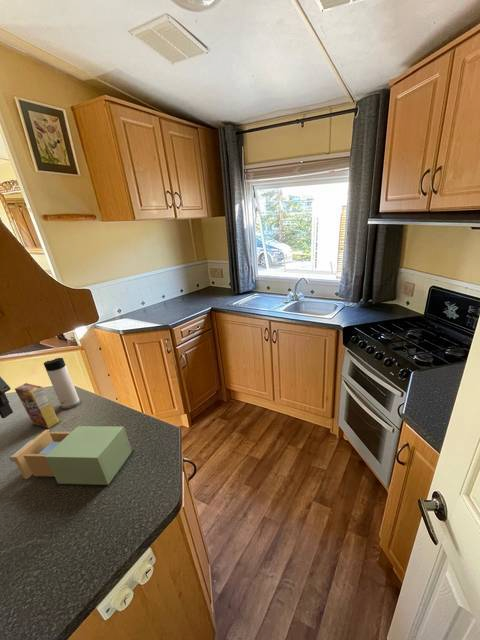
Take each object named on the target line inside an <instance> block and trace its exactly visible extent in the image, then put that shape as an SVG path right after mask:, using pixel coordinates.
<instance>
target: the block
mask: <svg viewBox="0 0 480 640" xmlns="http://www.w3.org/2000/svg"><path fill="white" fill-rule="evenodd" d="M59 443H60V442H51V443H50V444H49V445H48V446H47V447H45V448H44V449H43V450H42V451H41V452H40V453H39V454H48V453H49V452H50V451H51V450H53V449H54V448H55V447H56V446H57V445H58V444H59Z"/></svg>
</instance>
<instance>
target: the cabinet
mask: <svg viewBox="0 0 480 640" xmlns="http://www.w3.org/2000/svg"><path fill="white" fill-rule="evenodd" d="M70 432H71V433H70V434H69V435H68V436H66V437H65V438H64V439H63V440H62V441H61V442H60V443H59V444H58V445H57V446H56V447H55V448H54V449H53V450H51V451H50V452H49V453H48V454H47V455H46V456H45V459H46V460H47V462H48V464H49V466H50V468H51V470H52V472H53V474H54V476H53V477H54V478H55V480H56V483H57V484H58V485H59V484H63V485H95V486H96V485H97V486H100V485H101V486H102V485H103V486H109V485H110V483H111V482H112V480H113V479H114V478H115V476H116V475H117V474H118V472H119V471H120V470H121V468H122V466H123V465H124V464H125V462H126V461H127V459H128V458H129V456H130V455H131V454H132V453H133V450H132V448H131V447H132V446H131V445H130V442H129V438H128V435H127V432H126V430H125V426H118V425H117V426H111V425H110V426H106V425H105V426H104V425H103V426H99V425H95V426H94V425H92V426H91V425H89V426H87V425H85V426H84V425H76V427H75V428H73V430H72V431H70Z"/></svg>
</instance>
